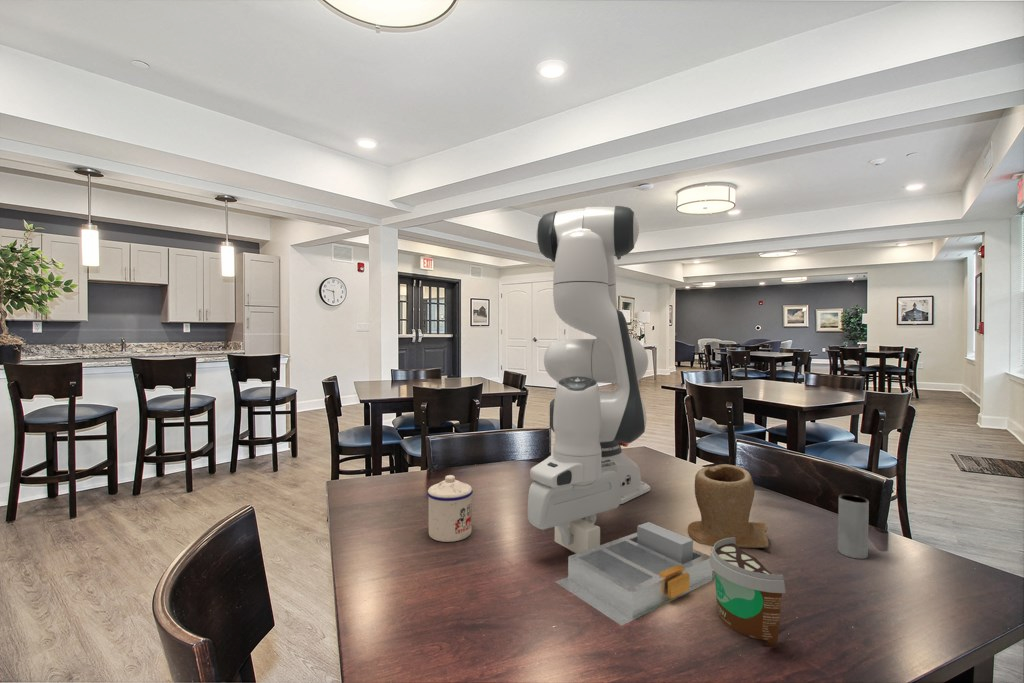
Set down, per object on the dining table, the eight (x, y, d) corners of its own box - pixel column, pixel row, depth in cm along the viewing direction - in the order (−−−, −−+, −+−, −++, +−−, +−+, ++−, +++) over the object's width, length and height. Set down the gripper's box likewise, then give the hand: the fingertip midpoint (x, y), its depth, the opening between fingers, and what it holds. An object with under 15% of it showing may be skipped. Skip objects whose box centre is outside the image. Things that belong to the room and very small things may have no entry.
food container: (693, 602, 73) (693, 537, 73) (732, 601, 74) (733, 535, 73) (738, 657, 61) (739, 579, 60) (784, 655, 61) (785, 577, 61)
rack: (653, 549, 91) (653, 523, 91) (726, 582, 79) (726, 553, 79) (555, 587, 77) (555, 557, 77) (624, 635, 65) (625, 599, 65)
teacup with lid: (463, 545, 92) (462, 485, 92) (419, 540, 95) (419, 481, 94) (483, 521, 104) (483, 467, 104) (444, 517, 106) (444, 464, 106)
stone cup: (695, 555, 89) (696, 474, 88) (683, 529, 100) (684, 457, 100) (784, 562, 86) (786, 478, 86) (762, 534, 98) (763, 460, 97)
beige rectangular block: (566, 542, 94) (566, 511, 94) (599, 560, 86) (600, 527, 86) (554, 546, 92) (554, 515, 92) (587, 565, 85) (587, 531, 85)
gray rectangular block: (648, 555, 86) (648, 521, 86) (692, 576, 79) (693, 539, 79) (637, 559, 85) (637, 525, 84) (681, 581, 77) (681, 544, 77)
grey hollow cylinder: (862, 550, 91) (863, 495, 91) (871, 560, 86) (872, 503, 86) (834, 546, 92) (835, 492, 92) (842, 556, 88) (843, 500, 88)
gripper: (604, 454, 97) (604, 522, 98) (522, 470, 86) (522, 548, 86) (628, 461, 92) (628, 533, 92) (544, 479, 81) (544, 562, 81)
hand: (576, 540), depth 89 cm, fingers closed on beige rectangular block, 3 cm apart
